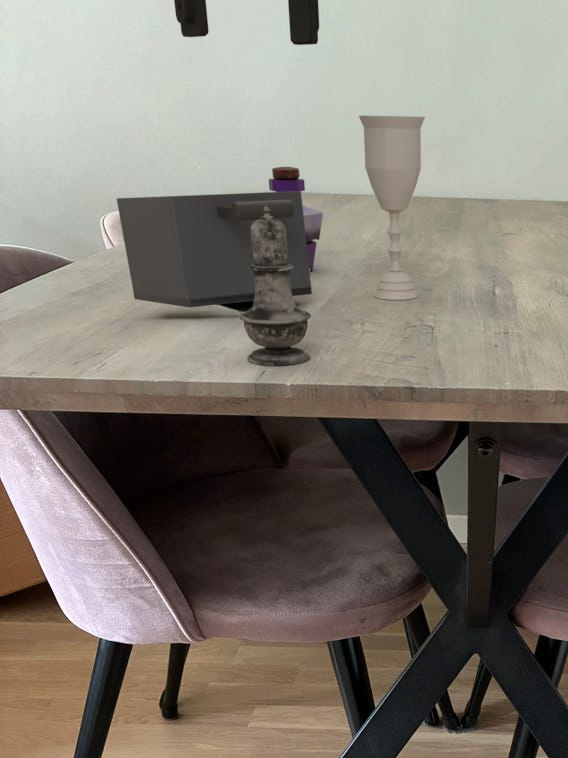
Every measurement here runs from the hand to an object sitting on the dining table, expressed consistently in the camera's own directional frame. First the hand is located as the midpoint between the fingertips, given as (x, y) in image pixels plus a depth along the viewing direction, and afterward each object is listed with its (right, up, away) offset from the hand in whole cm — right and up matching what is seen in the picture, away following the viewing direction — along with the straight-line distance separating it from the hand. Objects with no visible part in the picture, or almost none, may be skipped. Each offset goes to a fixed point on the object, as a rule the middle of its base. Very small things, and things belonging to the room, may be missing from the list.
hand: (251, 40), depth 75 cm
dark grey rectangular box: (-8, -11, +26) cm, 29 cm away
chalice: (+8, -8, +34) cm, 36 cm away
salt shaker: (+1, -24, +6) cm, 24 cm away
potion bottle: (-6, +1, +49) cm, 49 cm away
